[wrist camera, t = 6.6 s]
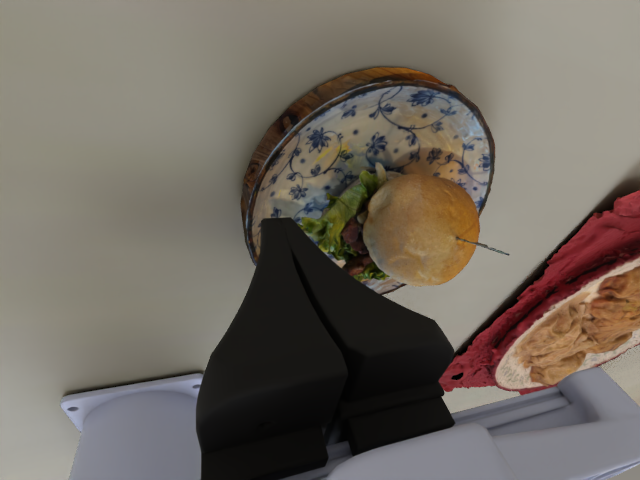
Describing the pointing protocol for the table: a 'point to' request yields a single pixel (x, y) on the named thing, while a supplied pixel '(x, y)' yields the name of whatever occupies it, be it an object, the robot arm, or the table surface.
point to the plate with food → (565, 311)
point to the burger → (377, 176)
